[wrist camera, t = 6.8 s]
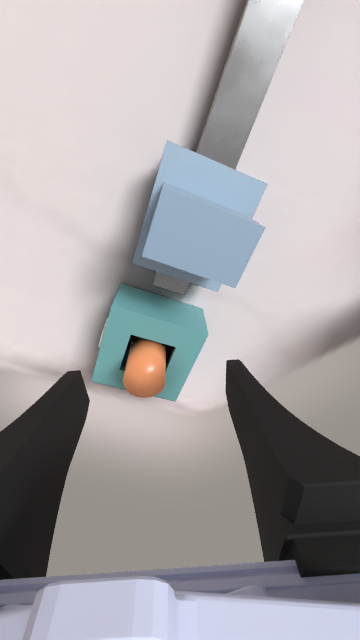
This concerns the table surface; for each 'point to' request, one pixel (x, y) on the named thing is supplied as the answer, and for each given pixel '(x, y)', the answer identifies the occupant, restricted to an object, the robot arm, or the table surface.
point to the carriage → (199, 220)
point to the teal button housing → (150, 336)
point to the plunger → (145, 368)
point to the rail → (242, 88)
